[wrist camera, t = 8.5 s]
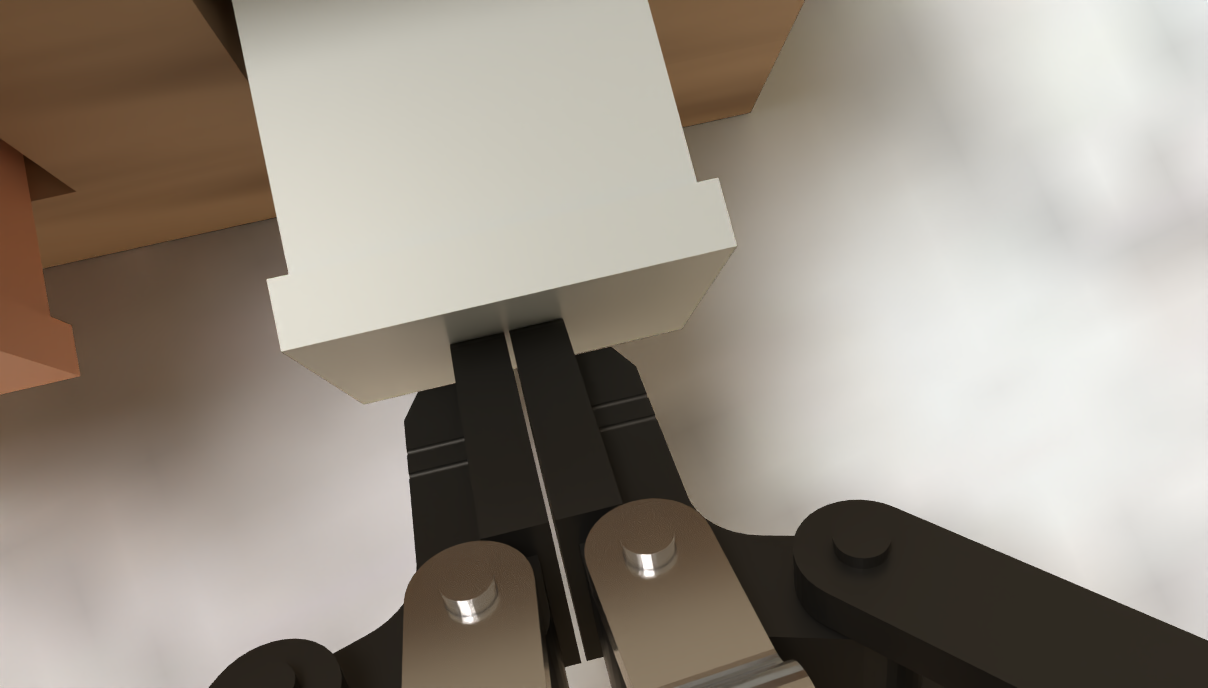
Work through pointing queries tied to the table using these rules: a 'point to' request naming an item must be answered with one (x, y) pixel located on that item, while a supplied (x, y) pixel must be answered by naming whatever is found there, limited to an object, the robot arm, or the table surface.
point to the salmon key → (26, 292)
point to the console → (239, 109)
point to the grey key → (472, 180)
